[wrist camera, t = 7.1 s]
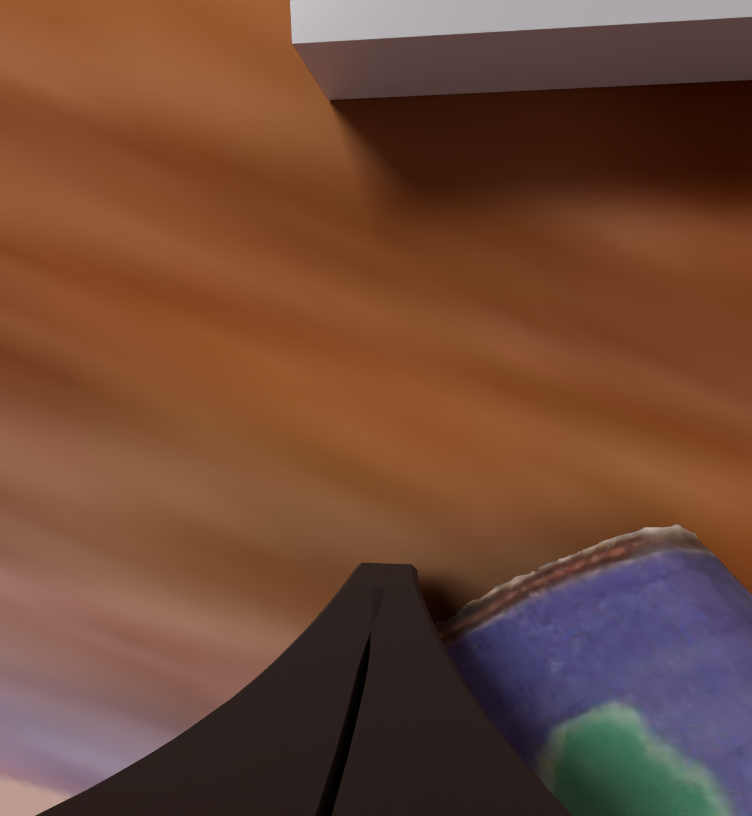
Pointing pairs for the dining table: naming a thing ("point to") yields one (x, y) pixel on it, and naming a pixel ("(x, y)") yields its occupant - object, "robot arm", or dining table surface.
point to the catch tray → (517, 44)
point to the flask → (620, 676)
